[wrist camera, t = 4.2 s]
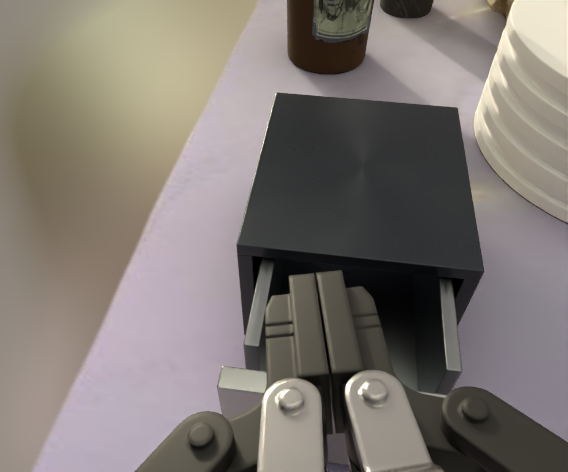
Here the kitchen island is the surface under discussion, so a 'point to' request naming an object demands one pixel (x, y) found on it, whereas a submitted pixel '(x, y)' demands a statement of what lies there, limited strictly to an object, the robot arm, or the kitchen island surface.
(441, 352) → the drawer
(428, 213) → the cabinet
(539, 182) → the plate stack
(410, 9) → the travel mug
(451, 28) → the kitchen island surface
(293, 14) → the olive oil
